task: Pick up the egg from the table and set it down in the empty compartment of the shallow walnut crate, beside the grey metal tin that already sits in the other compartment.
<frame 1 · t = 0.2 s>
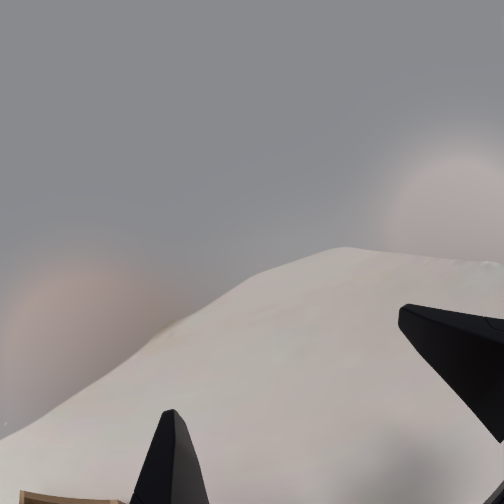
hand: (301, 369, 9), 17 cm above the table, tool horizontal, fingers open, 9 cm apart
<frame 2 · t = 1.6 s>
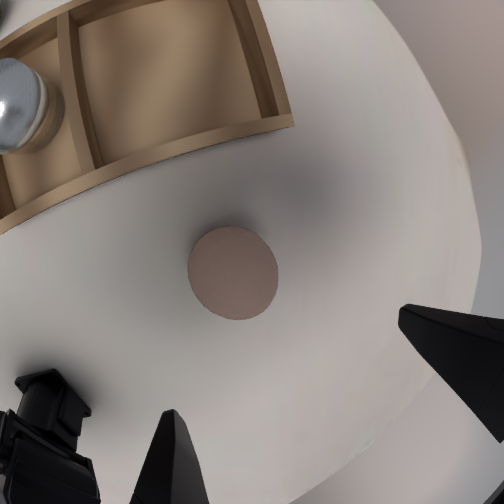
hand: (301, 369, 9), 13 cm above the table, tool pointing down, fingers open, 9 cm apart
crate: (110, 84, 14), on the table
tin: (34, 117, 12), point 1 cm above the table, touching crate
egg: (219, 252, 20), on the table
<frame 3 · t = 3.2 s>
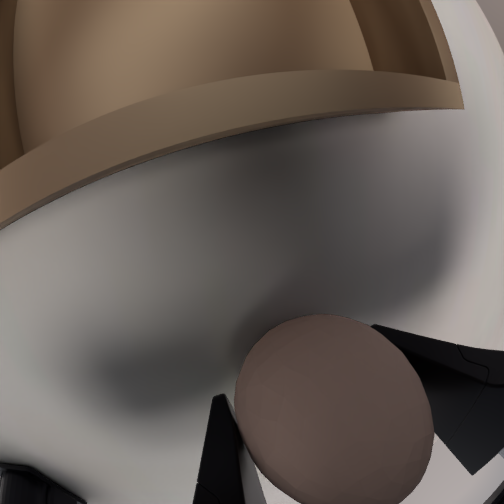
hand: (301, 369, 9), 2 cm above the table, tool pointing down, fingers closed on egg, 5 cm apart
crate: (64, 2, 4), on the table
egg: (281, 341, 10), on the table, touching gripper
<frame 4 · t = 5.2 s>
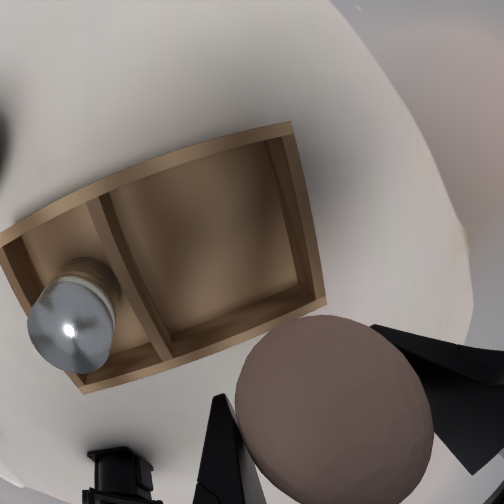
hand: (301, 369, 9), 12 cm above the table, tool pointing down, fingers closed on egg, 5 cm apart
crate: (160, 259, 18), on the table
tin: (88, 290, 17), point 1 cm above the table, touching crate
egg: (281, 342, 10), point 11 cm above the table, touching gripper
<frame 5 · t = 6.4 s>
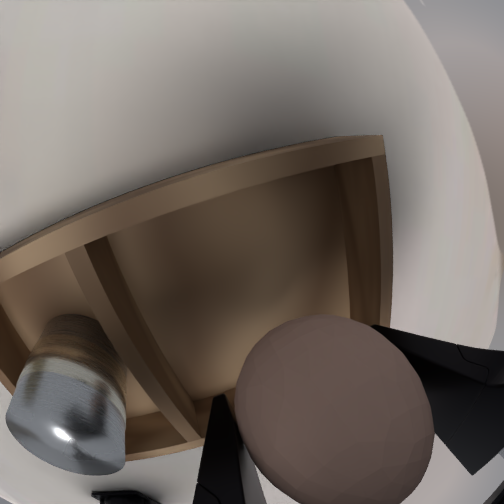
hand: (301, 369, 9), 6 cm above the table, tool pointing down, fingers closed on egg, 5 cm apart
crate: (180, 316, 13), on the table
tin: (83, 354, 12), point 1 cm above the table, touching crate
egg: (281, 341, 10), point 4 cm above the table, touching gripper
when the fingers open (4 cm above the table, at t = 7.2 s): egg drops 2 cm, resting on crate.
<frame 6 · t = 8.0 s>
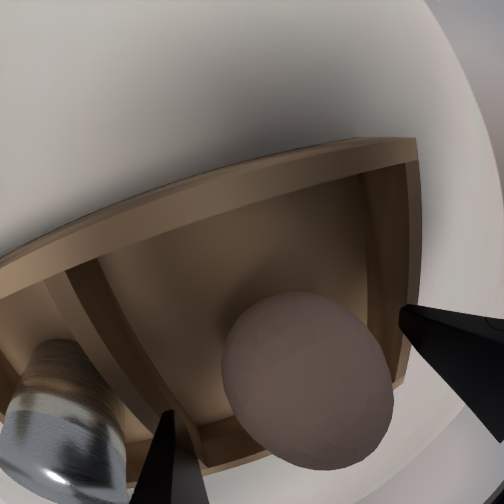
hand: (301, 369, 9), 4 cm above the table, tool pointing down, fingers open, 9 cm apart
crate: (182, 341, 11), on the table
tin: (76, 380, 10), point 1 cm above the table, touching crate
egg: (265, 319, 12), resting on crate
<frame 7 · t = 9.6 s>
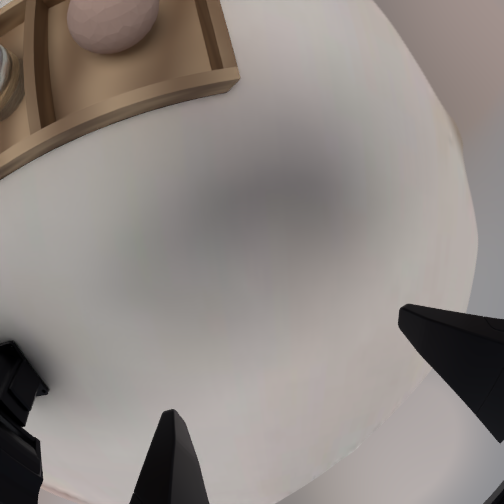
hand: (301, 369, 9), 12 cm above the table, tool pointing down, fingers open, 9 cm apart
crate: (71, 55, 12), on the table
tin: (3, 90, 10), point 1 cm above the table, touching crate
egg: (120, 35, 12), resting on crate
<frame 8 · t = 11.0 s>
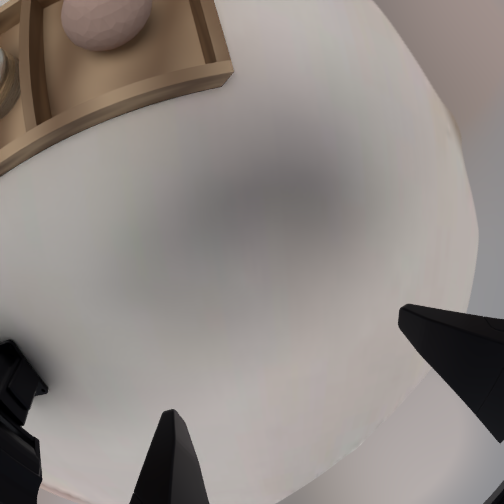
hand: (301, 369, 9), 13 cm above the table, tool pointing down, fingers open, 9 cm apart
crate: (66, 54, 12), on the table
egg: (114, 33, 12), resting on crate
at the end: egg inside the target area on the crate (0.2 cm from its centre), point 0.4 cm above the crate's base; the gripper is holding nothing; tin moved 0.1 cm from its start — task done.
